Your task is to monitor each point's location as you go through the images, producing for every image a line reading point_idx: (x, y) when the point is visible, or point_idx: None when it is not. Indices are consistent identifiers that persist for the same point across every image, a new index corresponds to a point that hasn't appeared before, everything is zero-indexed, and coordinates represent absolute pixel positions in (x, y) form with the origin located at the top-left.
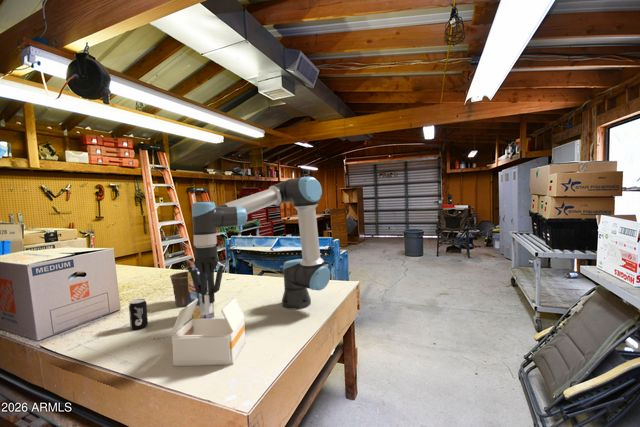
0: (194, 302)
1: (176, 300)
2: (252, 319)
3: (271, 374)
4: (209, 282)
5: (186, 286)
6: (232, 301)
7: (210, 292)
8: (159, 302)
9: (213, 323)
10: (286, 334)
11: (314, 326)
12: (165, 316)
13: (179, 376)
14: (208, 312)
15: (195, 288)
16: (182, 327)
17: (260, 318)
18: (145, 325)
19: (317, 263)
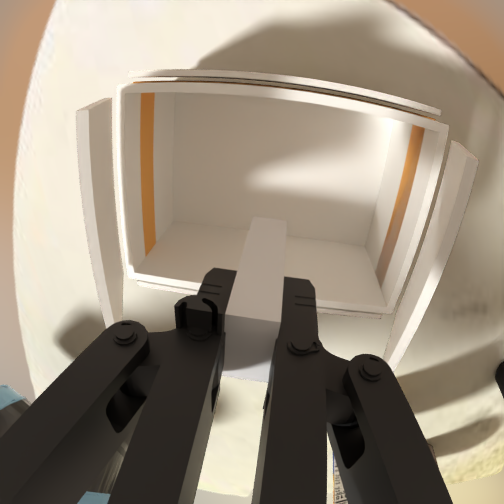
0: (392, 351)
1: (433, 455)
2: None
3: (55, 40)
4: (155, 463)
5: None
6: (102, 304)
7: (190, 335)
8: (461, 451)
9: None
10: (65, 256)
11: (22, 283)
12: (456, 408)
13: (351, 36)
14: (259, 221)
15: (404, 407)
16: (423, 226)
17: None
18: (501, 368)
19: None
